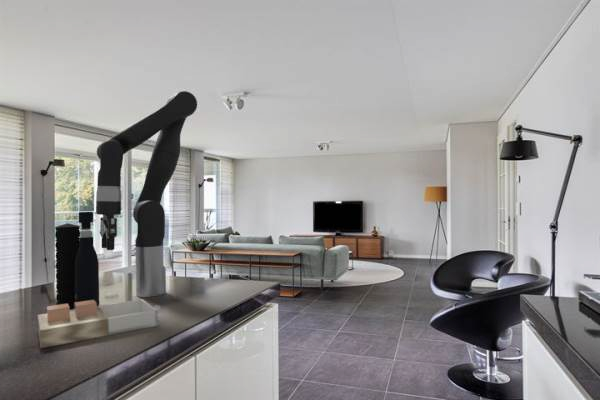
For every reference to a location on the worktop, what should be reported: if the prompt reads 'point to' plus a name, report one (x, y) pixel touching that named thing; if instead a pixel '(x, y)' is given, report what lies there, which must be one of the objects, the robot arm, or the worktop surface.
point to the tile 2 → (85, 308)
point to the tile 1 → (58, 313)
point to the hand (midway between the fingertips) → (107, 249)
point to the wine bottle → (86, 263)
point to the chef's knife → (157, 308)
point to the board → (72, 328)
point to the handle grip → (66, 262)
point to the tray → (129, 316)
